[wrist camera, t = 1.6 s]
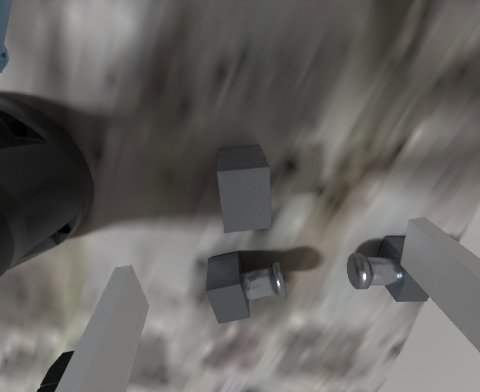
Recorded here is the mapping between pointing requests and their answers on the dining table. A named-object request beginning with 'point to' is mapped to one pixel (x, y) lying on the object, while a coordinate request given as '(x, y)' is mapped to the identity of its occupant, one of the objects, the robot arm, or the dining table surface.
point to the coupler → (244, 188)
